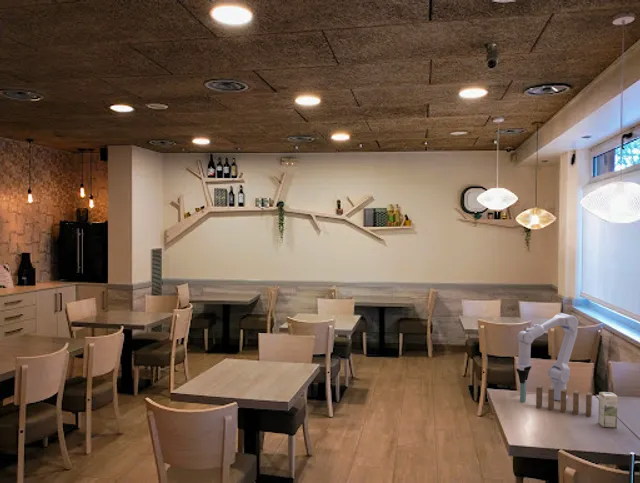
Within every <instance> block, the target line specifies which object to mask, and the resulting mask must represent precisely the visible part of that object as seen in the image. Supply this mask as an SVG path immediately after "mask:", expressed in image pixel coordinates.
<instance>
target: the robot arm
mask: <svg viewBox="0 0 640 483" xmlns="http://www.w3.org/2000/svg"><path fill="white" fill-rule="evenodd" d="M579 322H580V321H579V320H578V318H577V317H576V316H575V315H572V314H567V313H564V312H558V313H557V314H554V317H551V318H550V319H548V320H546V321H545V322H544V323H542V324H535V323H534V324H533V326H531V327H529V328H526V329H525V330H521V331H519V332H518V333H517V335H516V340H517V341H518V359H517V361H518V362H517V361H515V365H518V367H519V368H516V372H517V375H518V379H519V384H520V383H523V384H524V383H525V381H527V380H528V378H529V374H530V370H531V369H532V366H531V365H532V364H531V352H532V351H531V350H532V349H531V348H532V344H533V342H534V340H535V339H537V338H540V337H541V336H543V335H544V333H545V331H548V330H550V329H553V328H554V327H556V326H560V327H561V328H562V329H563V331H564V335H563V339H562V342H561V344H560V345H561V346H560V348H559V352H558V356H557V359H556V361H555V362H553V363H552V364H551V367H549V370H548V373H547V374H548V376H549V378H550V384H551V385H550V387H554V401H560V402H561V390H562V389H567V384H568V382H569V380H570V378H571V376H570V373H571V368H570V367H569V362H570V359H571V356H572V352H573V349H574V345H575V342H576V340H577V336H578V326H579ZM568 397H569V396H568V395H566V401H567V400H568Z"/></svg>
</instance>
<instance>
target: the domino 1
mask: <svg viewBox="0 0 640 483" xmlns="http://www.w3.org/2000/svg"><path fill="white" fill-rule="evenodd" d="M519 384H520V386H519V389H520V390H519V402H520V403H525V402H526V400H527V380H525V383H524V384H523V383H520V382H519Z"/></svg>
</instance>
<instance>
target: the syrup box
mask: <svg viewBox="0 0 640 483" xmlns="http://www.w3.org/2000/svg"><path fill="white" fill-rule="evenodd" d="M618 402H619V401H618V395H616V394H615V393H613V392H609V391H608V392H607V391H599V392H598V420H597V421H598V422H597V423H598V424H599V425H600V426H602V427H603V428H611V429H612V428H615V429H616V428H617V426H618V425H617V424H618V423H617V422H618Z"/></svg>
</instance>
